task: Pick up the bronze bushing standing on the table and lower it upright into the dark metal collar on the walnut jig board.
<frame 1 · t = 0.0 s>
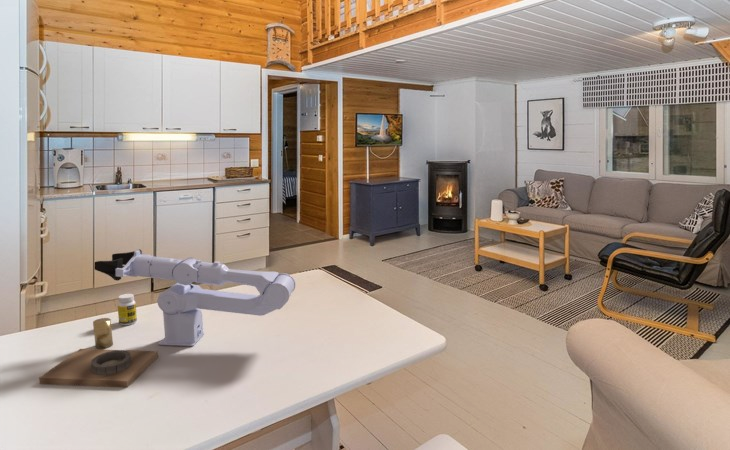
hand: (104, 261, 119), 22 cm above the table, tool horizontal, fingers open, 7 cm apart
bushing: (104, 345, 119), on the table
supplement bottle: (128, 323, 133), on the table
jig board: (102, 369, 107), on the table
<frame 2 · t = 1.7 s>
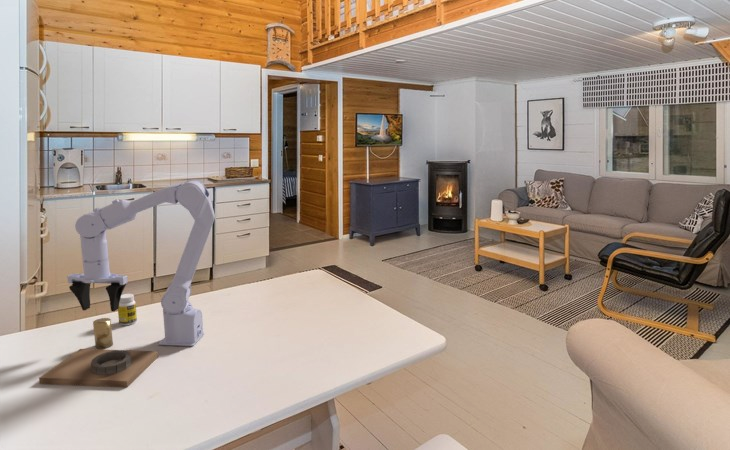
hand: (100, 309, 117), 10 cm above the table, tool pointing down, fingers open, 7 cm apart
nothing on the table moved.
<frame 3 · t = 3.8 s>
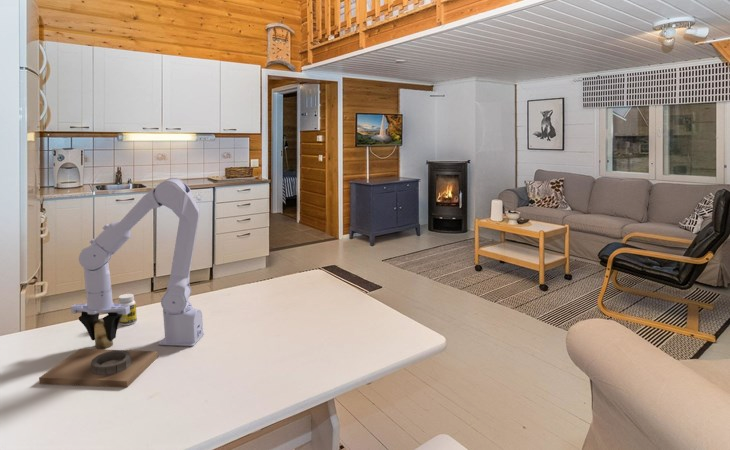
hand: (103, 338, 118), 2 cm above the table, tool pointing down, fingers closed on bushing, 4 cm apart
bushing: (104, 345, 119), on the table, touching gripper
everything else where it was.
when the fingers open (4 cm above the table, at t = 9.7 s): bushing stays where it is, resting on jig board.
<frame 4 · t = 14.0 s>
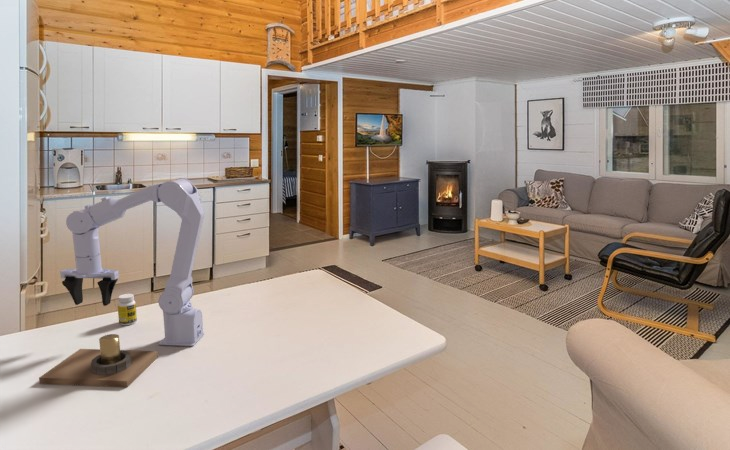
hand: (92, 304, 120), 10 cm above the table, tool pointing down, fingers open, 7 cm apart
bushing: (111, 365, 105), point 2 cm above the table, touching jig board
everything else where it was.
at the end: bushing 0.0 cm from the target spot on the jig board, point 1.7 cm above the jig board's base; bushing tilted 0°; the gripper is holding nothing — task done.
